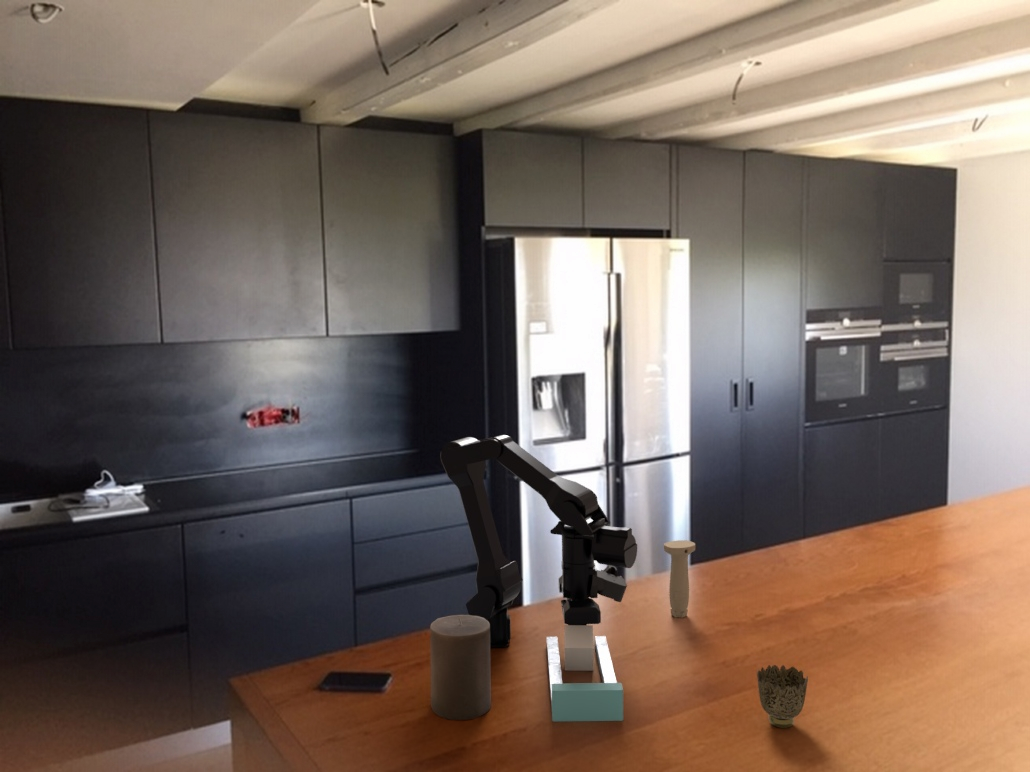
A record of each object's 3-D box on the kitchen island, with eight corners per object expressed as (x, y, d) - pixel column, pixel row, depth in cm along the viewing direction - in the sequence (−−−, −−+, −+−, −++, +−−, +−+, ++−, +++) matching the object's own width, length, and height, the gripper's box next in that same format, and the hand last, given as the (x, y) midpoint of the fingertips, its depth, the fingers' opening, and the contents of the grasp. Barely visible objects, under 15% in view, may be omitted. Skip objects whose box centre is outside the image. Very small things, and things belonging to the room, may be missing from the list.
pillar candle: (468, 726, 137) (467, 632, 135) (418, 710, 142) (417, 620, 140) (502, 701, 145) (502, 613, 143) (454, 687, 150) (453, 602, 149)
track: (552, 721, 138) (552, 690, 137) (546, 646, 166) (546, 621, 166) (623, 720, 138) (623, 689, 137) (605, 646, 166) (605, 620, 166)
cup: (749, 713, 140) (750, 665, 139) (794, 711, 140) (795, 662, 139) (766, 737, 132) (767, 686, 131) (814, 734, 133) (815, 683, 132)
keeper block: (564, 670, 156) (564, 647, 153) (564, 647, 160) (564, 625, 157) (593, 670, 156) (593, 648, 152) (592, 647, 160) (592, 625, 157)
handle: (699, 617, 180) (699, 545, 178) (671, 622, 178) (672, 549, 176) (685, 609, 184) (686, 539, 183) (659, 613, 182) (659, 542, 180)
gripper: (630, 575, 149) (630, 664, 151) (616, 543, 167) (617, 622, 169) (563, 577, 149) (565, 666, 151) (557, 544, 167) (559, 624, 169)
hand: (579, 643), depth 160 cm, fingers closed
